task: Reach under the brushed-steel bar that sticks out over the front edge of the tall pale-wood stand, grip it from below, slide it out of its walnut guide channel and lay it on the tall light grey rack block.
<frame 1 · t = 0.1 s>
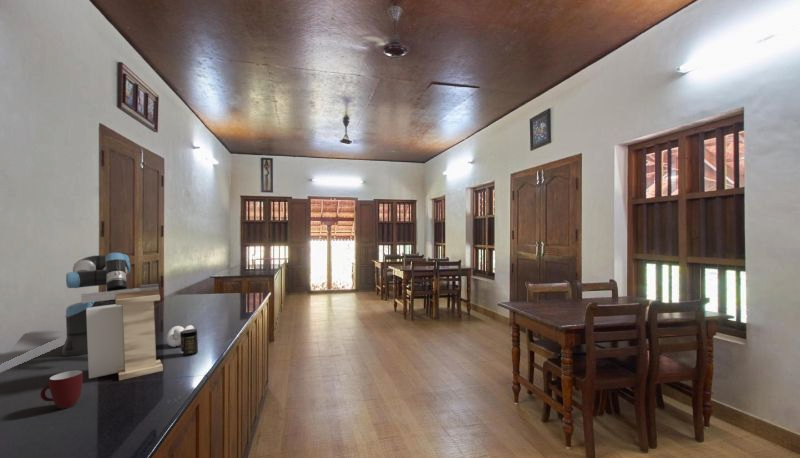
hand: (118, 324, 168), 15 cm above the counter, tool tilted 35°, fingers open, 13 cm apart
stand: (140, 371, 151), on the counter
mug: (62, 407, 121), on the counter
rack block: (106, 372, 152), on the counter
steel bar: (122, 297, 147), point 30 cm above the counter, touching stand
white piece: (182, 345, 186), on the counter
supplement container: (189, 354, 171), on the counter
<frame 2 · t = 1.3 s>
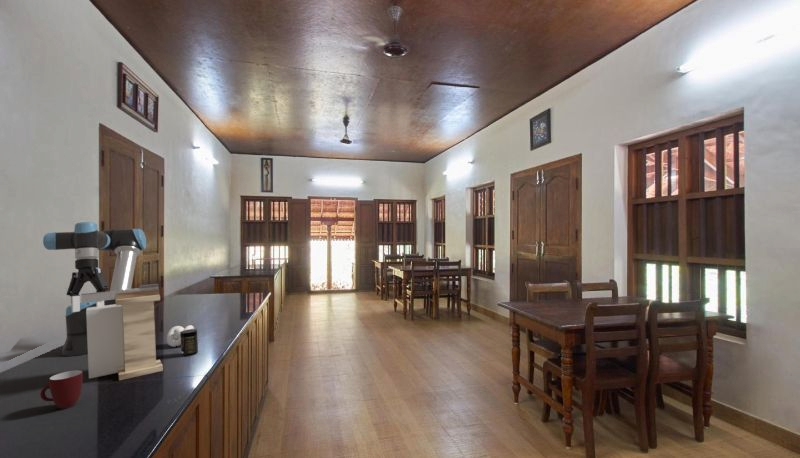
hand: (87, 310, 157), 24 cm above the counter, tool pointing down, fingers open, 13 cm apart
nothing on the counter moved.
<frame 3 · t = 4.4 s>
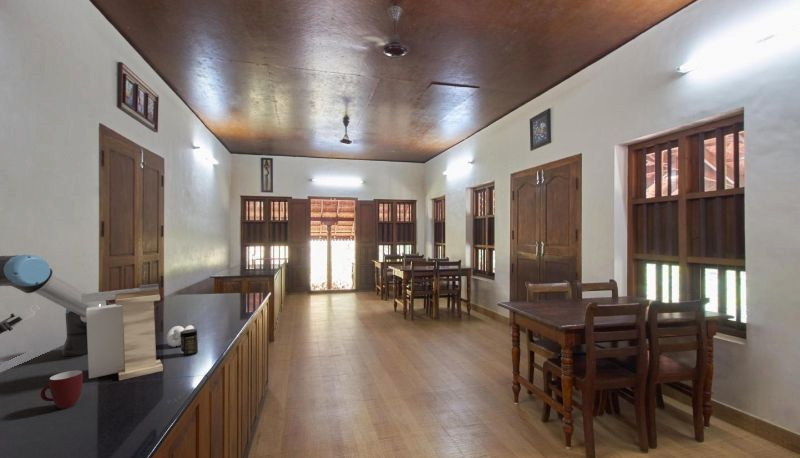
hand: (35, 308, 136), 29 cm above the counter, tool pointing upward, fingers open, 13 cm apart
nothing on the counter moved.
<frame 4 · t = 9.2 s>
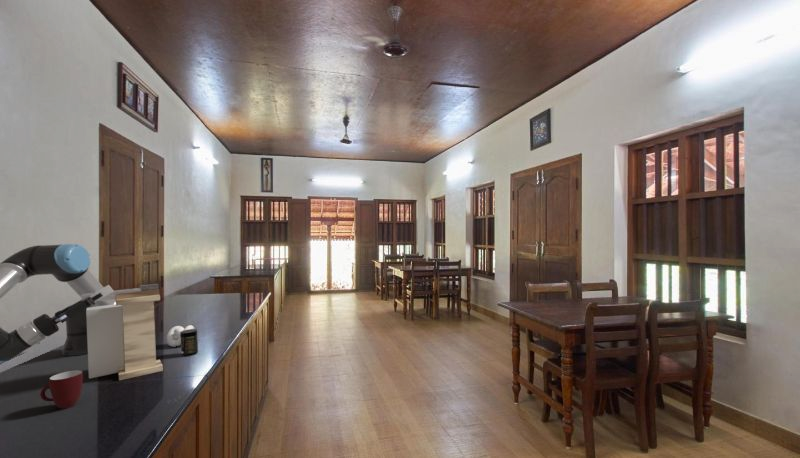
hand: (111, 288, 145), 34 cm above the counter, tool pointing upward, fingers closed on steel bar, 3 cm apart
steel bar: (122, 297, 147), point 30 cm above the counter, touching gripper, stand
everything else where it was.
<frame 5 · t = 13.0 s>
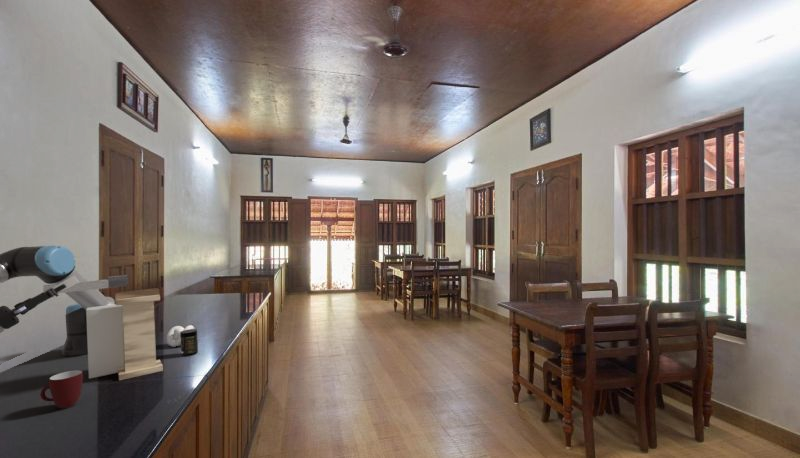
hand: (76, 279, 139), 39 cm above the counter, tool pointing upward, fingers closed on steel bar, 3 cm apart
steel bar: (88, 289, 141), point 35 cm above the counter, touching gripper
everything else where it was.
when the fingers open (32 cm above the counter, at t = 16.7 s): steel bar drops 2 cm, resting on rack block.
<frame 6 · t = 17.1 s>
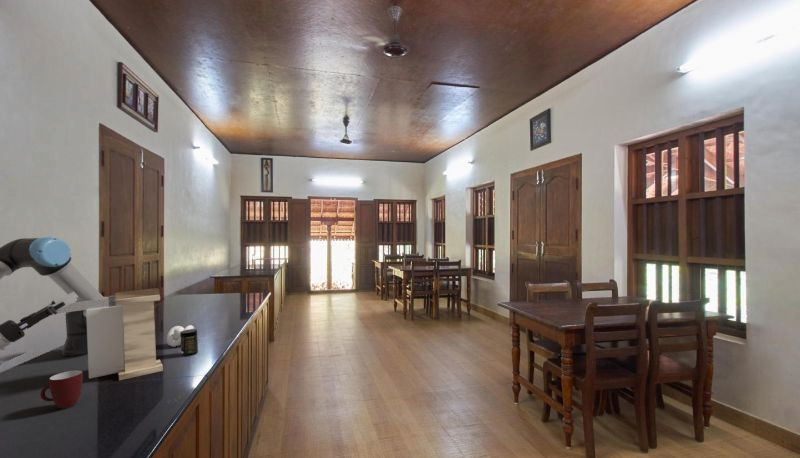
hand: (75, 295, 147), 32 cm above the counter, tool pointing upward, fingers open, 9 cm apart
steel bar: (89, 308, 149), point 26 cm above the counter, touching rack block
everything else where it was.
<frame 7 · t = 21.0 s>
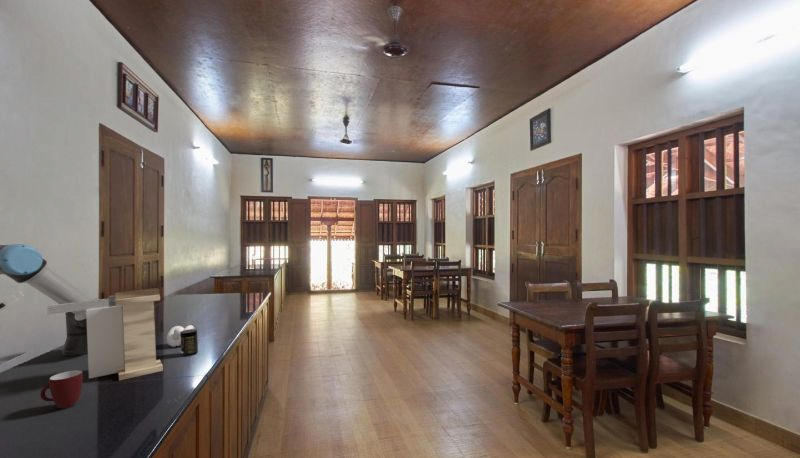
hand: (19, 295, 140), 34 cm above the counter, tool pointing upward, fingers open, 13 cm apart
nothing on the counter moved.
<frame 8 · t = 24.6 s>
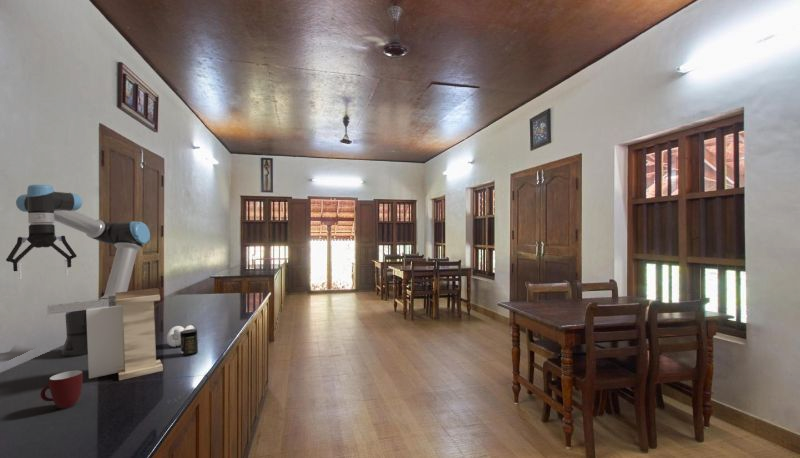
hand: (43, 277, 151), 39 cm above the counter, tool pointing down, fingers open, 13 cm apart
nothing on the counter moved.
at the end: steel bar inside the target area (0.1 cm from its centre), point 26.0 cm above the counter; the gripper is holding nothing; steel bar tilted 0° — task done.
